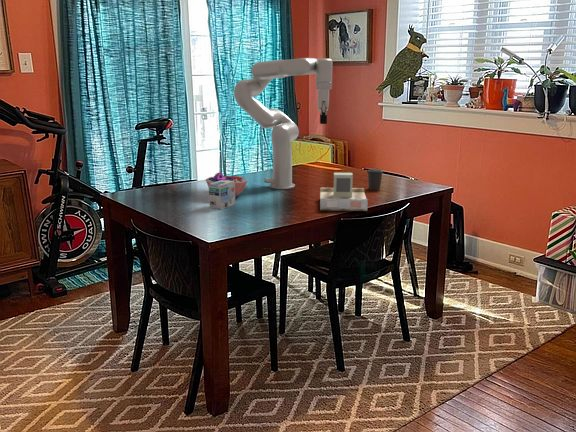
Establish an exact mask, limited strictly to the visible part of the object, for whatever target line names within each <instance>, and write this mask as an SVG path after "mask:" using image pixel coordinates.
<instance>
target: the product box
mask: <svg viewBox="0 0 576 432" xmlns="http://www.w3.org/2000/svg"><path fill="white" fill-rule="evenodd" d="M353 175H354V174H353V172H333V188H334V192H333V195H334V197H352V188H353V182H354V181H353V180H354V179H353V178H354V176H353Z"/></svg>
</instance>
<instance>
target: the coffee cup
mask: <svg viewBox="0 0 576 432" xmlns="http://www.w3.org/2000/svg"><path fill="white" fill-rule="evenodd" d="M366 172H367V179H368V190H370V191H379V189H380V190H381V185H382V178H383V177H382V176H383V173H384V171H383V169H378V168H370V169H368V170H366Z"/></svg>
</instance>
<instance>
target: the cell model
mask: <svg viewBox="0 0 576 432" xmlns="http://www.w3.org/2000/svg"><path fill="white" fill-rule="evenodd" d="M223 174H224V173H222V172H221V171H219V172H217V173H215V174H214V175H213V176H210V177H207V178H206V179H205V182H206V184H207V188H208V189H209V184H210V183H213V182H217V181H220V180H229V181H235V197H237V196H238V195H240V194H242V192H244V190H245V188H246V186H247V182H248V179H246V178H244V177H242V176H237V175H223Z"/></svg>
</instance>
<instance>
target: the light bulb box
mask: <svg viewBox="0 0 576 432" xmlns="http://www.w3.org/2000/svg"><path fill="white" fill-rule="evenodd" d="M208 195H209V196H208V197H209V198H208V199H209V202H208V203H209V208H211V209H212V208H213V209H217V210H223V209H226V208H229V207H232V206H235V205H236V196H235V181H229V180H220V181H217V182H213V183H210V184H209V188H208Z"/></svg>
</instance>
